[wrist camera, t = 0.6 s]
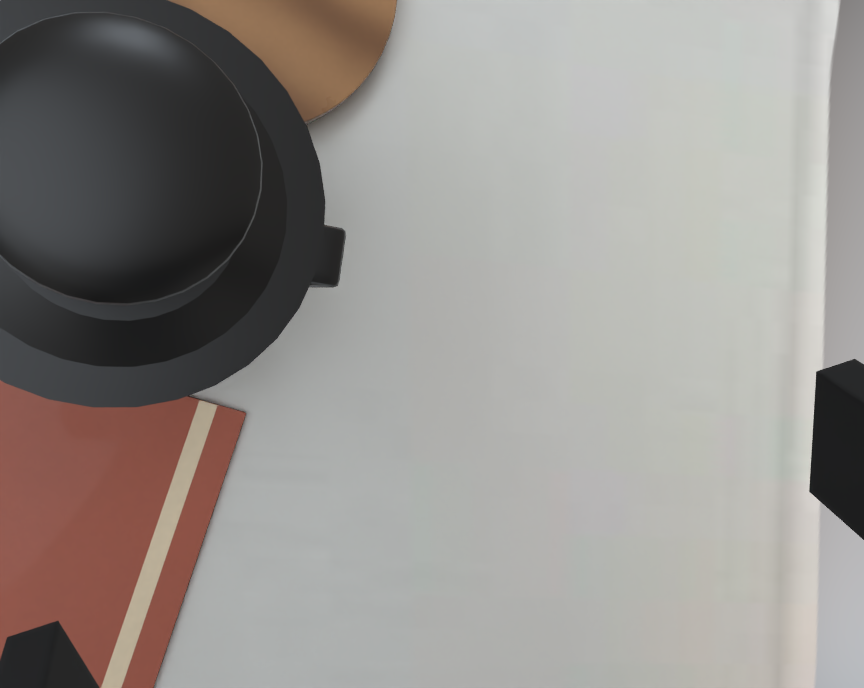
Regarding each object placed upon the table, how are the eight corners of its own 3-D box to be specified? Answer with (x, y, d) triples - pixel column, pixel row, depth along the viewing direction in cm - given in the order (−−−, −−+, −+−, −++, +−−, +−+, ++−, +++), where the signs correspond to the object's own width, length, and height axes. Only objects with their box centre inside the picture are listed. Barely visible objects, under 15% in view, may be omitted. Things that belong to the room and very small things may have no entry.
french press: (-38, 337, 30) (-435, 459, 9) (-6, 99, 30) (-333, -355, 9) (262, 371, 35) (476, 507, 13) (292, 163, 35) (556, -38, 13)
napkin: (149, 695, 34) (149, 699, 34) (-200, 646, 29) (-204, 650, 29) (245, 412, 35) (246, 413, 34) (-81, 319, 30) (-84, 319, 29)
